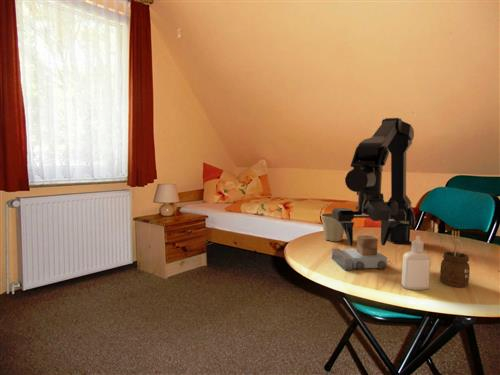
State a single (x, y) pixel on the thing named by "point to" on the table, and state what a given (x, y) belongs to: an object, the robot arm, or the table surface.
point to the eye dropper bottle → (416, 267)
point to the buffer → (342, 259)
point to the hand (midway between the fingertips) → (367, 245)
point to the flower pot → (332, 228)
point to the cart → (366, 260)
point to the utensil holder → (455, 266)
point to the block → (367, 245)
